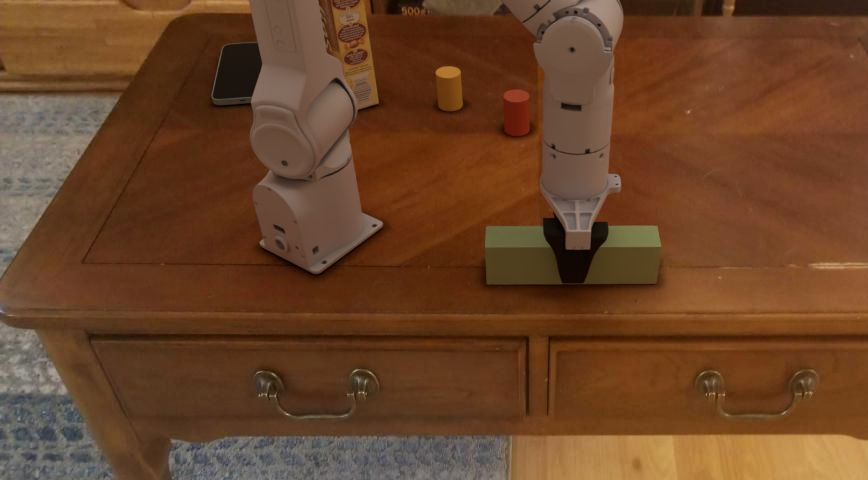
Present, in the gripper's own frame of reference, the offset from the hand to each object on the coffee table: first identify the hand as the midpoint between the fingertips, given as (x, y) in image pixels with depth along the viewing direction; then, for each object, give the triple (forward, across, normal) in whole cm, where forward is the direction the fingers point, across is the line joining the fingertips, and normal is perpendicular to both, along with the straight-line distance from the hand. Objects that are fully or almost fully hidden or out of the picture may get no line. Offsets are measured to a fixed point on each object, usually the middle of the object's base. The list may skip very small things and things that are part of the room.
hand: (571, 262), depth 79 cm
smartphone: (+1, +40, +40) cm, 56 cm away
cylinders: (+1, +29, +9) cm, 31 cm away
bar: (+1, 0, 0) cm, 1 cm away
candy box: (+2, +35, +26) cm, 44 cm away
